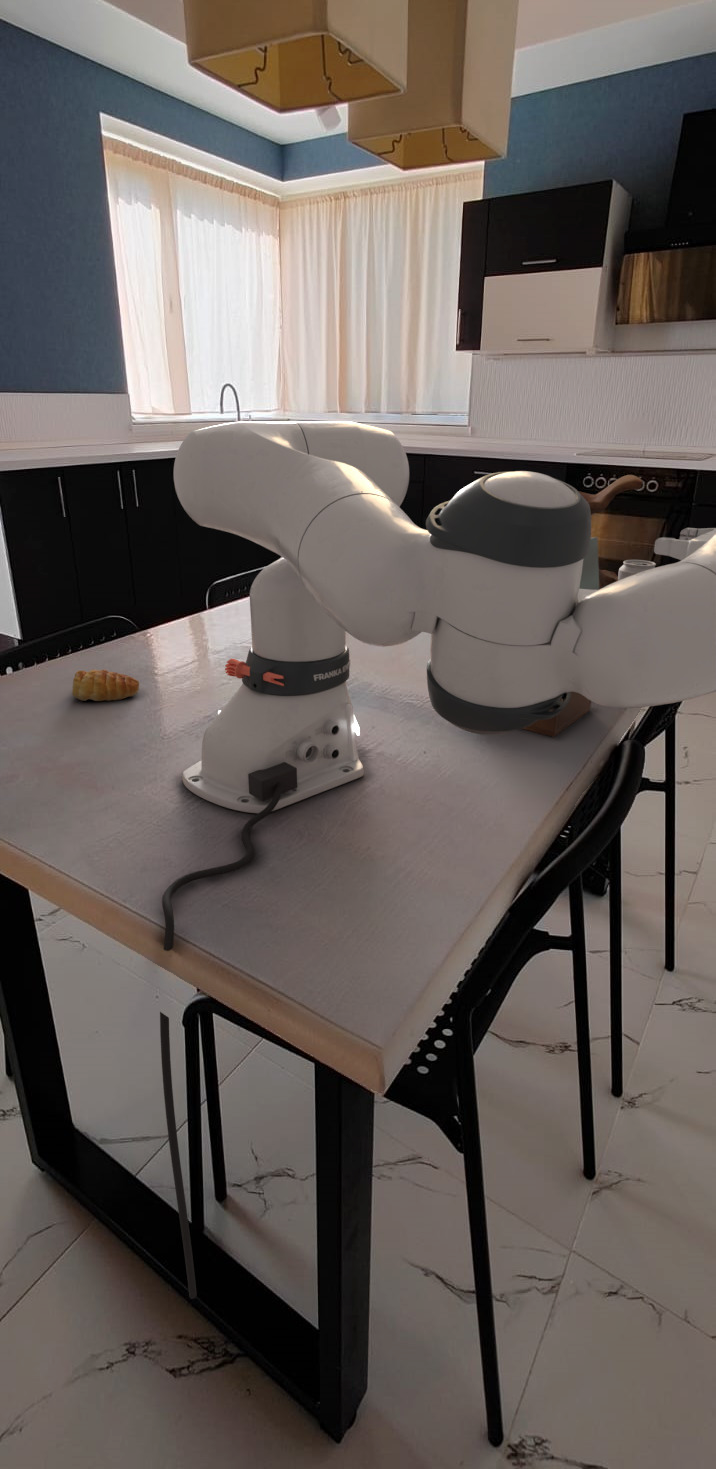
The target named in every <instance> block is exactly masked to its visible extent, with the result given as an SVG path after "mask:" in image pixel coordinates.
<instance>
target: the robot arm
mask: <svg viewBox="0 0 716 1469" xmlns="http://www.w3.org/2000/svg"><path fill="white" fill-rule="evenodd" d="M173 483H174V489H175V493H176V495H177V498H178V500H179V503H180V505H181V506H182V508H183V510H184V511H185V512H186V514H187V515H188V516H189V518H190V519H192V521H193V522H195V524H197V525H198V526H200V527H205V528H210V529H215V530H218V531H221V532H226V533H230V534H233V535H236V536H239V537H241V538H244V539H246V540H249V541H251V542H253V543H255V544H256V545H258V546H261V547H263V548H265V549H267V550H268V551H271V552H272V553H275V554H276V555H278V556H280V558H278V559H277V560H275V561H273V562H272V563H270V564H268V565H267V566H265V567H264V568H263V569H261V571H259V573H258V574H257V575H256V576H255V578H254V580H253V582H252V584H251V586H250V589H249V609H250V610H249V612H250V630H251V632H250V634H251V646H250V647H249V650H248V652H247V656H246V659H245V660H246V661H244V660H243V661H241V660H238V659H236V658H230V659H228V660H227V661H226V664H225V666H224V671H225V674H227V676H229V677H236V678H237V679H241V683H242V684H241V685H240V686H239V688H238V690H236V692H235V693H234V694H233V696H232V697H231V698H230V699H229V700H228V701H227V703H226V704H225V705H224V707H223V708H222V709H221V710H218V711H217V715H216V717H215V718H213V719H212V721H211V722H210V723H209V724H208V726H207V727H206V728H205V730H204V732H203V737H202V742H201V755H200V756H201V759H200V760H198V761H197V762H196V763H194V764H192V765H190V766H189V767H187V768H186V769H184V770H183V772H182V776H181V780H182V783H183V785H184V786H185V788H186V789H188V790H189V791H190V792H191V793H192V794H194V795H196V796H198V797H199V798H202V799H203V800H206V801H208V802H210V803H212V804H215V805H217V806H220V807H224V808H226V809H230V810H234V811H239V812H243V813H250V814H255V815H254V816H253V817H251V818H250V819H249V820H248V821H247V822H246V823H245V824H244V826H243V827H242V830H241V839H242V843H243V845H244V847H245V848H246V851H247V853H246V854H245V855H244V856H243V857H242V858H240V859H238V860H236V861H234V862H232V863H228V864H224V865H219V866H216V867H209V868H206V869H200V870H197V871H194V872H190V873H187V874H185V875H183V876H181V877H179V878H177V879H176V880H174V881H173V882H172V883H171V884H170V885H169V886H168V887H167V888H166V890H165V891H164V893H163V895H162V898H161V905H162V911H163V916H164V925H165V926H164V927H165V928H164V940H163V941H164V942H163V950H164V951H167V952H168V951H171V950H172V949H173V947H174V937H175V918H174V910H173V906H172V902H171V899H172V897H173V895H174V894H175V893H176V892H177V891H178V890H179V889H181V888H182V887H183V886H185V885H186V884H189V883H192V882H194V881H197V880H201V879H206V878H210V877H215V876H220V875H225V874H228V873H232V872H236V871H237V870H240V869H242V868H244V867H246V866H247V865H249V864H250V863H251V861H252V860H253V859H254V857H255V855H256V848H255V846H254V844H253V842H252V840H251V838H250V832H251V830H252V828H253V827H254V826H255V825H256V824H257V823H259V822H260V821H261V820H263V819H264V818H266V817H267V816H268V815H269V814H271V813H272V812H275V811H277V810H279V809H282V808H285V807H287V806H290V805H293V804H295V803H298V802H301V801H302V800H305V799H308V798H310V797H313V796H315V795H318V794H321V793H324V792H325V791H328V790H331V789H334V788H336V787H338V786H342V785H344V784H346V783H349V782H352V781H355V780H357V779H359V778H362V777H363V776H364V775H365V772H364V765H363V763H362V762H361V760H360V759H359V757H360V755H359V751H358V745H357V736H361V735H360V734H361V732H360V731H361V728H360V726H359V725H360V724H358V721H357V719H356V716H355V714H354V707H353V704H352V700H351V697H350V694H349V690H348V684H347V681H348V679H349V678H350V667H351V659H350V649H349V647H348V645H347V644H346V641H347V640H346V635H347V634H349V635H350V636H352V637H353V638H354V639H356V640H358V641H359V642H361V643H363V644H366V645H369V646H375V647H382V648H383V647H393V646H397V645H401V644H404V643H407V642H408V641H411V640H412V639H414V638H416V637H417V636H419V635H420V634H422V633H426V634H430V658H429V660H428V661H427V663H426V664H427V665H426V682H427V691H428V696H429V700H430V704H431V706H432V708H433V709H434V711H435V712H436V713H437V714H438V716H440V717H441V718H442V719H444V720H445V721H447V722H449V723H450V724H451V725H453V726H455V727H456V728H458V729H461V730H463V731H465V732H469V733H473V734H478V735H484V736H485V735H487V736H490V735H493V736H494V735H501V734H502V735H503V734H506V733H511V732H514V731H517V730H523V729H522V728H525V727H528V726H530V725H532V724H534V723H535V722H537V721H538V720H547V719H551V718H553V717H555V716H556V715H558V714H559V713H560V712H561V711H562V710H563V709H564V708H565V707H566V706H567V705H568V703H569V701H570V698H571V692H577V693H579V694H581V695H583V696H584V697H586V698H587V699H589V700H591V703H594V704H597V705H599V706H602V707H606V708H611V709H634V708H635V709H636V708H647V707H656V706H663V705H669V704H675V703H680V702H684V701H688V700H692V699H695V698H699V697H703V696H705V695H710V694H713V693H716V527H707V528H705V527H704V528H695V527H686V528H684V529H682V530H681V531H680V533H679V538H678V539H676V538H675V537H667V536H663V537H662V536H661V537H658V538H656V540H655V541H654V548H653V552H654V554H655V555H659V556H667V557H671V558H673V559H677V560H679V561H677V562H674V563H669V564H665V565H661V566H657V567H656V566H655V568H653V569H649V570H646V571H643V572H640V573H637V574H634V575H632V576H629V577H626V578H624V579H621V580H619V581H616V582H614V583H612V584H610V585H607V586H605V587H603V588H601V589H599V590H589V589H579V587H580V580H581V574H582V568H583V560H584V558H585V557H586V556H587V555H588V553H589V550H590V540H591V538H592V515H591V512H590V506H589V504H588V502H587V501H586V500H585V499H584V497H583V496H582V495H581V494H580V493H579V492H580V491H578V490H577V489H576V488H575V487H574V486H572V485H570V484H569V483H566V482H564V481H563V480H560V479H558V478H554V477H552V476H550V475H548V474H544V473H540V472H535V471H530V470H529V471H527V470H515V471H498V472H493V473H489V474H487V475H484V476H482V477H480V478H478V479H476V480H474V481H473V482H471V483H469V484H467V485H466V486H463V488H461V489H459V491H457V492H456V493H455V494H454V496H453V497H452V498H451V499H450V500H448V501H444V502H442V503H439V504H438V505H436V506H435V507H433V509H432V510H431V511H430V513H429V514H428V516H427V518H426V520H425V528H426V529H425V528H421V527H420V526H418V525H417V524H415V523H414V522H413V521H412V519H411V517H410V516H408V514H407V513H405V511H404V510H403V509H402V508H401V505H402V503H403V502H404V499H405V497H406V494H407V493H408V492H407V491H408V488H409V484H410V465H409V460H408V456H407V453H406V451H405V448H404V446H403V445H402V443H401V441H400V440H399V438H398V437H397V436H396V434H395V433H394V432H392V431H391V430H389V429H385V428H381V427H377V426H373V425H369V424H364V423H359V422H354V421H234V422H227V423H222V424H217V425H212V426H207V427H203V428H199V429H196V430H195V429H194V430H191V431H190V432H189V433H188V434H187V435H186V437H185V438H184V439H183V441H182V442H181V444H180V446H179V448H178V449H177V453H176V455H175V459H174V463H173ZM561 699H563V701H561ZM552 710H554V711H552ZM550 711H552V712H550ZM159 1028H160V1029H159V1032H160V1033H159V1036H160V1054H161V1055H160V1057H161V1073H162V1084H163V1085H162V1086H163V1088H162V1089H163V1098H164V1108H165V1109H164V1110H165V1118H166V1127H167V1135H168V1144H169V1151H170V1160H171V1167H172V1174H173V1181H174V1190H175V1195H176V1204H177V1212H178V1217H179V1225H180V1232H181V1239H182V1246H183V1254H184V1263H185V1270H186V1278H187V1289H188V1297H189V1298H190V1300H194V1299H195V1298H197V1293H198V1292H197V1283H196V1274H195V1265H194V1256H193V1248H192V1240H191V1232H190V1225H189V1218H188V1210H187V1202H186V1195H185V1187H184V1179H183V1173H182V1172H183V1171H182V1165H181V1164H182V1163H181V1157H180V1149H179V1141H178V1132H177V1123H176V1113H175V1103H174V1091H173V1079H172V1078H173V1077H172V1064H171V1063H172V1062H171V1043H170V1042H171V1041H170V1039H171V1038H170V1017H169V1016H167V1015H166V1014H165V1013H164V1012H162V1011H159Z"/></svg>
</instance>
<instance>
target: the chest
mask: <svg viewBox="0 0 716 1469" xmlns="http://www.w3.org/2000/svg"><path fill="white" fill-rule="evenodd" d="M561 701H563V699H561ZM591 707H592V701H591V700H589V699H587V698H586V697H584V696H583V695H581V694H579V693H577V692H571V698H570V701H569V703H568V705H567V706H566V707H565V708H564V709H563V710H562V711H561V712H560V713H559V714H558V715H556V716H555V717H553V718H551V719H547V720H538V721H537V722H535V723H534V724H532V725H530V726H528V727H525V728H522V729H521V730H525V731H526V730H527V731H528V732H533V733H537V734H539V735H544V736H548V737H552V738H555V737H556V736H557V735H559V734H560V733H562V732H563V731H564V730H566V729H567V728H568V727H570V726H571V725H572V724H574V723H575V722H577V721H578V720H579V719H581V718H582V717H583V716H584V715H586V714H588V713H589V712H590V711H591ZM552 711H554V710H552ZM552 711H550V712H552Z"/></svg>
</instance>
